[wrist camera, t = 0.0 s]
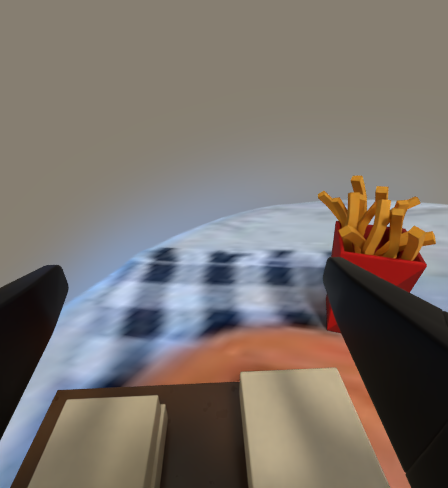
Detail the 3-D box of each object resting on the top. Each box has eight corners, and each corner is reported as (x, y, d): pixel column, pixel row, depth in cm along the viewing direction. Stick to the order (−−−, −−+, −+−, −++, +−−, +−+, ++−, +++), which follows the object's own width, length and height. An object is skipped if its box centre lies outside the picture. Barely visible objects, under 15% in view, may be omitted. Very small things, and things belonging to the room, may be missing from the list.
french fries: (378, 303, 32) (427, 175, 24) (395, 364, 25) (471, 213, 17) (299, 289, 34) (322, 168, 26) (295, 342, 27) (324, 199, 19)
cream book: (440, 668, 9) (470, 664, 8) (267, 685, 9) (273, 683, 8) (329, 387, 18) (336, 366, 17) (238, 392, 18) (239, 371, 17)
